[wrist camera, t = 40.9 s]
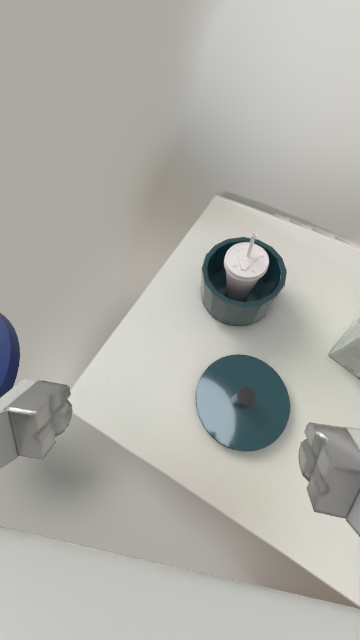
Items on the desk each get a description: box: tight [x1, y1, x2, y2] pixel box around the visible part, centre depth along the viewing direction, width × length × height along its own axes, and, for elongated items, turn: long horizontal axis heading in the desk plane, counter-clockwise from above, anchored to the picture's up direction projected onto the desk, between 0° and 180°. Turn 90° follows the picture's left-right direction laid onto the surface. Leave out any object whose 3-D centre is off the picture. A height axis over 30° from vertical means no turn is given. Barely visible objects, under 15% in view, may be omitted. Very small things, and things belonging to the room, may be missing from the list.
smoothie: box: [224, 233, 269, 301], centre depth 39 cm, size 6×6×14 cm
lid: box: [196, 355, 290, 451], centre depth 36 cm, size 14×14×5 cm
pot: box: [201, 237, 286, 326], centre depth 43 cm, size 13×13×8 cm
